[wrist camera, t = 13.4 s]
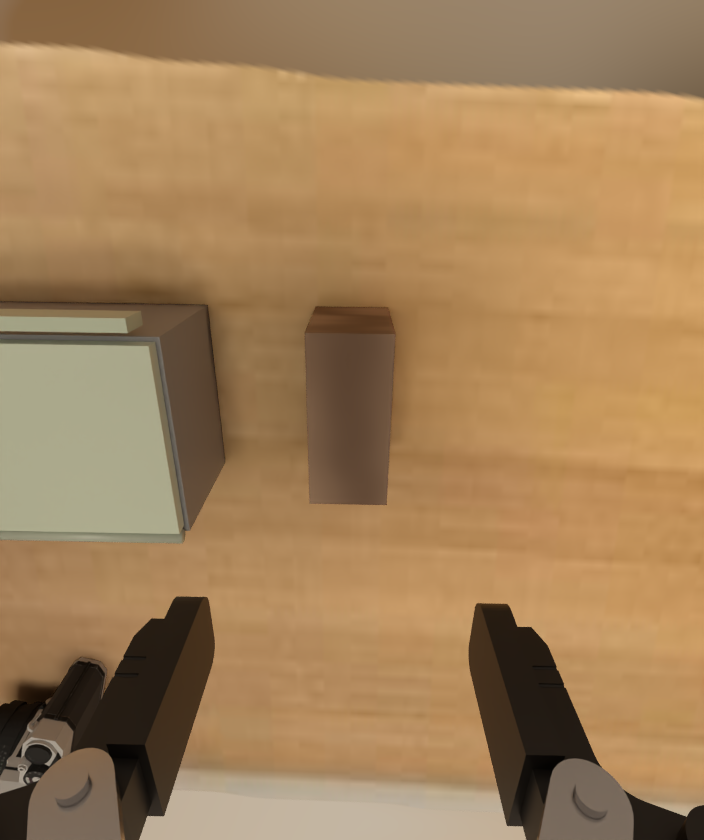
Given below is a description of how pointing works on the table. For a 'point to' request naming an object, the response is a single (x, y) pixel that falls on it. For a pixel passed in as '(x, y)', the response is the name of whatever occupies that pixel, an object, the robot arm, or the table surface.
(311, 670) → the table surface
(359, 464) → the brown rectangular block
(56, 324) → the lid
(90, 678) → the camera
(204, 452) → the box
